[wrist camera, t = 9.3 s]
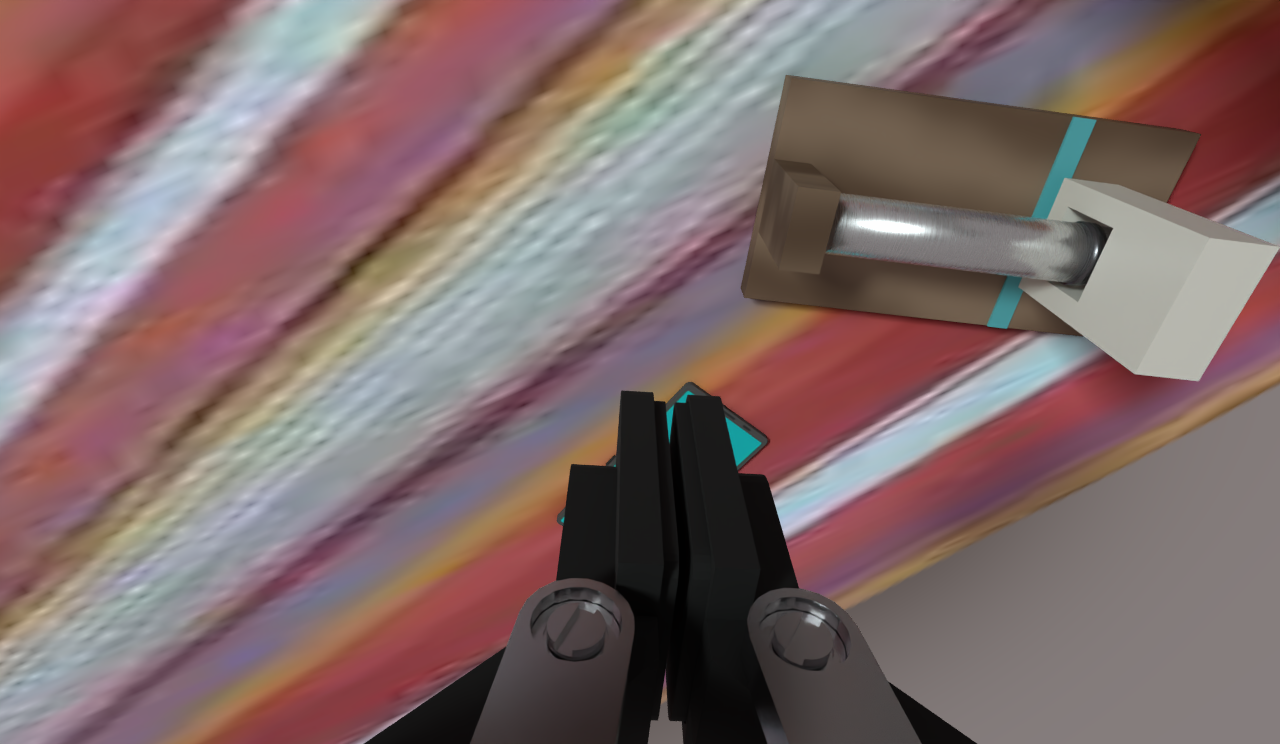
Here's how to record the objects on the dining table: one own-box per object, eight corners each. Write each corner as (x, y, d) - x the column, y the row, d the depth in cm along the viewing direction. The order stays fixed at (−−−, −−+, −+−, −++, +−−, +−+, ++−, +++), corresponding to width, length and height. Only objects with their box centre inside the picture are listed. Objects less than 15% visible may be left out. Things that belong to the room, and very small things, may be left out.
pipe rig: (785, 74, 35) (820, 92, 29) (1180, 129, 37) (1300, 157, 30) (740, 288, 41) (761, 343, 34) (1083, 327, 42) (1166, 387, 36)
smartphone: (769, 441, 46) (632, 567, 51) (767, 433, 47) (632, 559, 52) (688, 382, 44) (553, 520, 49) (687, 375, 44) (554, 513, 50)
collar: (1064, 177, 35) (1209, 237, 27) (1118, 184, 36) (1280, 246, 27) (1018, 286, 38) (1134, 374, 30) (1068, 292, 39) (1198, 381, 30)
